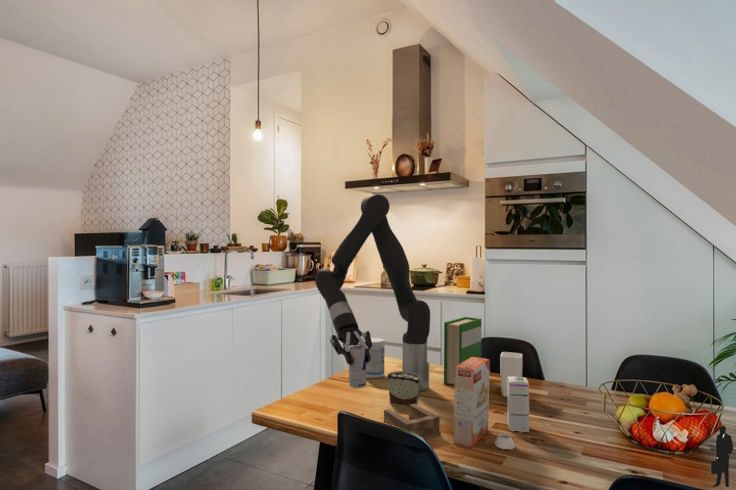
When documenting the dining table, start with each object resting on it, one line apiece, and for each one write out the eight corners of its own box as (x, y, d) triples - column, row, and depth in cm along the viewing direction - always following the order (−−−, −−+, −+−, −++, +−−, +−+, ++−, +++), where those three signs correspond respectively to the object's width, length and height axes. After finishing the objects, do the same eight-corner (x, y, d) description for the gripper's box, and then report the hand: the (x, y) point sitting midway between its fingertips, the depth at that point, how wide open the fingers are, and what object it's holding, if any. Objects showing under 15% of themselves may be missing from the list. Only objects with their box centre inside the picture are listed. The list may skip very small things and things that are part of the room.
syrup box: (529, 433, 127) (530, 382, 127) (508, 431, 128) (508, 381, 128) (526, 425, 133) (527, 376, 133) (506, 423, 134) (506, 375, 134)
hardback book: (461, 388, 167) (461, 324, 167) (443, 384, 172) (444, 322, 172) (480, 377, 181) (481, 318, 181) (464, 374, 186) (464, 316, 186)
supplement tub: (386, 378, 179) (387, 341, 179) (363, 379, 177) (364, 342, 177) (381, 371, 188) (381, 337, 188) (359, 372, 186) (359, 337, 186)
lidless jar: (491, 444, 120) (503, 452, 116) (491, 433, 120) (503, 441, 116) (505, 441, 122) (518, 449, 118) (505, 430, 122) (518, 437, 118)
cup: (499, 398, 157) (499, 356, 157) (501, 391, 163) (501, 351, 163) (521, 401, 154) (521, 358, 154) (522, 394, 161) (522, 353, 161)
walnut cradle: (415, 420, 136) (416, 403, 136) (440, 435, 125) (440, 416, 125) (382, 428, 130) (382, 410, 130) (405, 444, 119) (405, 424, 119)
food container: (426, 403, 151) (426, 373, 151) (420, 409, 146) (420, 378, 146) (392, 397, 156) (392, 369, 156) (385, 403, 151) (386, 373, 151)
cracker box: (474, 449, 117) (474, 369, 117) (452, 443, 120) (453, 366, 120) (490, 430, 129) (490, 358, 129) (469, 426, 132) (470, 355, 132)
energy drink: (368, 384, 141) (368, 346, 141) (362, 389, 136) (362, 350, 136) (352, 382, 143) (352, 345, 143) (346, 387, 138) (346, 348, 138)
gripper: (326, 313, 142) (343, 359, 132) (365, 309, 149) (384, 353, 139) (320, 327, 147) (335, 372, 137) (358, 323, 154) (375, 366, 144)
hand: (360, 362), depth 138 cm, fingers closed on energy drink, 5 cm apart
